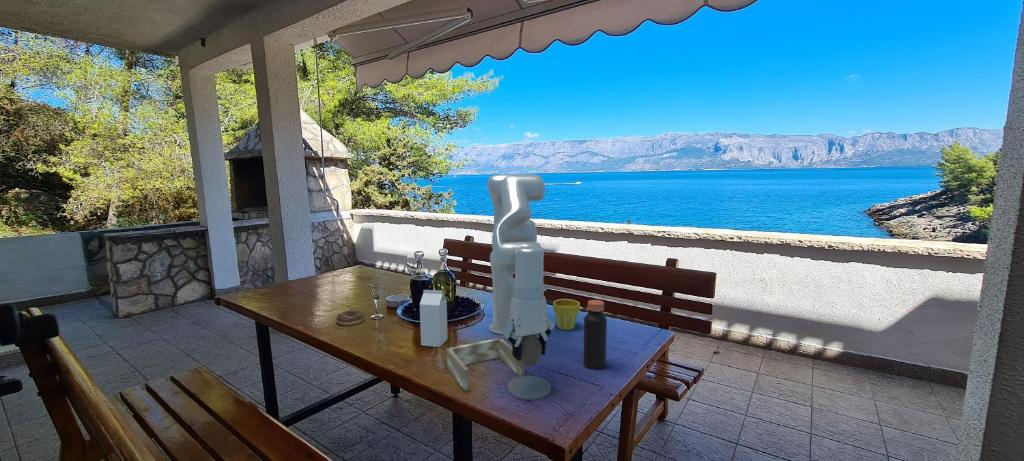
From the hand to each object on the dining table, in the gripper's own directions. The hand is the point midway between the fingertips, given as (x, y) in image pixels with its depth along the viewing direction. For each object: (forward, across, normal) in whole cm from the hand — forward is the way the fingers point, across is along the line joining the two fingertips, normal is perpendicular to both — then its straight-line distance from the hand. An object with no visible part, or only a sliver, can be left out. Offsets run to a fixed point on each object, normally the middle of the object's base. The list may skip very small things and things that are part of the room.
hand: (529, 355), depth 111 cm
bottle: (+10, -25, -3) cm, 27 cm away
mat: (+9, 0, 0) cm, 9 cm away
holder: (+9, +7, -15) cm, 19 cm away
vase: (+2, 0, 0) cm, 2 cm away
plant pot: (+9, -36, -34) cm, 50 cm away
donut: (+10, +38, -80) cm, 89 cm away
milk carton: (+9, +14, -43) cm, 46 cm away
